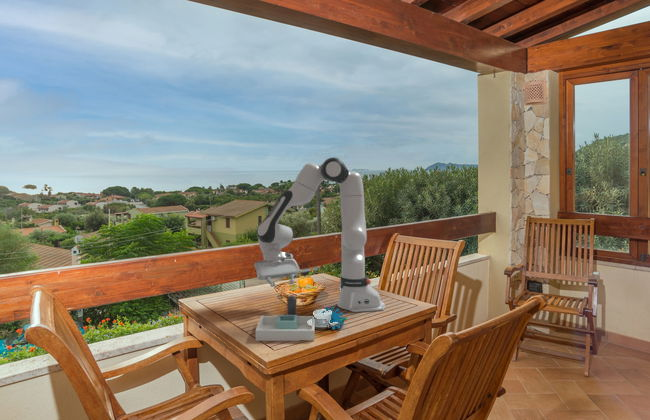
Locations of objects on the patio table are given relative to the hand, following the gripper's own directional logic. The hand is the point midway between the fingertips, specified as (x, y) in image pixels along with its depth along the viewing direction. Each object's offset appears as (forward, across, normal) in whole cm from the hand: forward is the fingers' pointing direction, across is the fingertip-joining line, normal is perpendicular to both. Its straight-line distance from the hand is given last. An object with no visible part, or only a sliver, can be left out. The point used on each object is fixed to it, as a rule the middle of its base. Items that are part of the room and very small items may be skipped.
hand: (282, 284), depth 186 cm
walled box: (+25, -9, -8) cm, 28 cm away
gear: (+28, +10, -10) cm, 32 cm away
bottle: (+15, 0, +2) cm, 15 cm away
